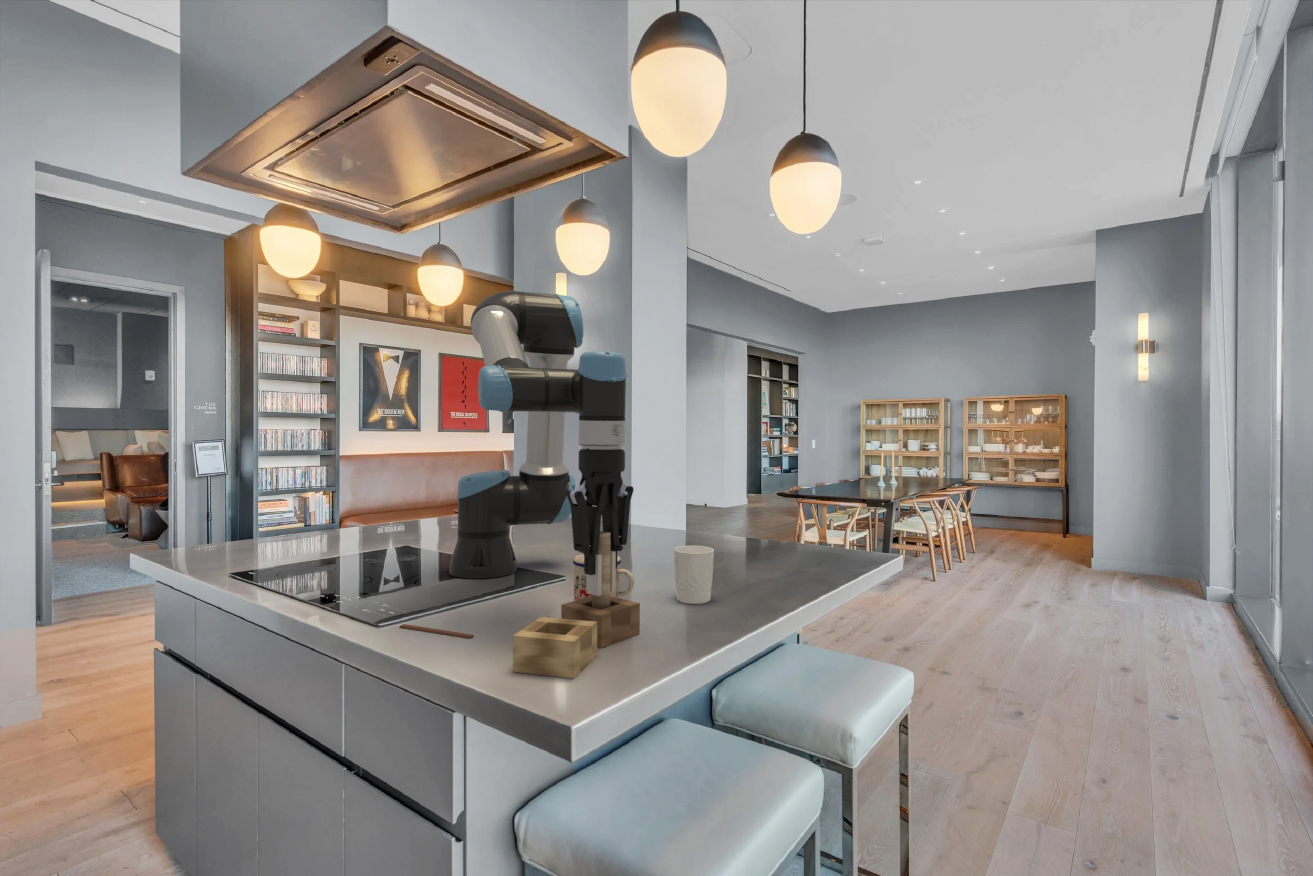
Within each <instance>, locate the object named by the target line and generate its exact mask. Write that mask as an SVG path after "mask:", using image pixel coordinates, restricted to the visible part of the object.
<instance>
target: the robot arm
mask: <svg viewBox="0 0 1313 876" xmlns="http://www.w3.org/2000/svg"><path fill="white" fill-rule="evenodd" d="M583 319H584V318H583V314H582V310H581V307H580V304H579V302H578V301H577V299H575V298H574V297H572V296H568V295H561V294H557V293H555V294H553V293H541V292H530V291H529V292H527V291H517V290H505V291H499V292H496V293H493V294H491V295H489V296H487V297H486V298H484V299H483V300H481V302H479V303H478V304H477V305H476V306H475V308H474V309H473V311H472V314H471V318H470V329H471V333H472V336H473V338H474V339H475V341H476V342H477V343H478V344H479V345H480V350H481V354H482V358H483V362H484V366H482V367H480V369H479V372H478V381H477V384H478V385H477V392H478V394H477V395H478V404H479V406H480V407H481V409H483V410H485V411H496V412H497V411H498V412H501V413H505V412H527V429H526V431H527V432H526V456H525V457H526V458H525V462H524V463H523V464H521V465H520V466H519V469H518V471H519V474H518V475H511V472H510V471H509V469H500V470H499V469H498V470H497V469H496V470H488V471H482V472H481V471H479V472H475V473H470V474H466V475H464V476H462V477H461V478H459V481H458V483H457V484H458V485H457V486H458V487H457V495H456V498H457V540H456V544H455V546H454V549H453V553H452V555H451V558H450V561H449V574H450V575H451V576H452V577H455V578H461V579H491V578H499V577H505V576H508V575H511V574H514V573H516V572H517V570H518V568H517V567H518V564H517V563H518V562H517V561H518V560H517V558H516V555H515V551H514V548H513V544H512V542H511V538H510V526H522V525H523V526H525V525H544V524H545V525H546V524H547V525H553V524H559V523H564V522H566V521H567V520H568V519H569V517H571V528H572V530H571V531H572V540H573V541H572V544H573V550H574V551H575V552H579V553H581V554H584V572H585V574H586V593H588V594H592V595H596V596H600V595H601V588H602V555H601V554H597V553H598V546H599V536H600V531H601V526H602V531H608V532H611V560H610V592H614V591H615V573H616V569H617V555H618V552H622V550H623V549H624V546H625V545H627V543H628V535H629V534H628V533H629V524H630V522H629V521H630V512H631V511H630V510H631V509H630V508H631V500H632V497H633V493H634V487H633V486H630V485H626V484H624V481H623V477H622V473H623V472H624V471H625V469H626V451H625V450H624V449H622V446H624V445H625V444H626V443H625V442H626V440H625V439H626V393H627V391H626V388H627V387H626V386H627V384H626V382H627V381H626V379H627V377H628V374H627V371H626V370H627V368H626V359H625V356H624V355H623V354H622V353H620V352H616V351H608V350H607V351H605V350H604V351H603V350H602V351H600V350H598V351H597V350H596V351H593V350H592V351H586V352H583V353H581V355H580V356H579V362H578V363H579V364H578V368H577V369H573V368H572V369H571V368H568V362H569V361H570V360H571V359H572V358H573V357H574V356H575V349H578V348H580V347H582V344H583V343H584V342H583V339H584V320H583ZM522 345H523V347H522ZM526 357H527V358H526ZM527 359H528V360H529V363H528V360H527ZM566 413H575V414H578V445H579V446H581V449H579V451H578V471H579V472H580V473H581V479H580V481H579V486H578V487H576V480H575V477H574V476H573V475H572V474H569V472H570V471H569V467H567V466H566V465H565V463H564V461H563V460H564V444H565V443H564V442H565V441H564V439H565V422H566V421H565V420H566V416H565V415H566ZM601 524H602V525H601Z"/></svg>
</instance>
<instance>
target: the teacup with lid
mask: <svg viewBox="0 0 1313 876" xmlns="http://www.w3.org/2000/svg"><path fill="white" fill-rule="evenodd" d="M621 563H622V560H621V557H620V556H619V555H618V554H617V569H616V573H615V591H614V592H610V596H612V597H616V598H620V597H623V596H627V595H628V594H630V593H631V592H632V590H633V588H634V586H635V577H634V575H633V572H631V571H629V570H627V569H625V568H621ZM572 564H573V601H577V600H580V599H584V598H587V597H591V596H592V594H588V593H586V574H585V572H584V554H583V553H581V554H578V555H576V556H574V558H573V559H572ZM620 574H623V575H625V576H627V578H628V587H627V589H626V590H625V591H620V588H621V587H620V581H621V579H620V578H621V577H620V576H621V575H620ZM620 599H621V598H620Z"/></svg>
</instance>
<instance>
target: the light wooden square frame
mask: <svg viewBox="0 0 1313 876" xmlns="http://www.w3.org/2000/svg"><path fill="white" fill-rule="evenodd" d="M597 656H598V647H597V622H595V621H584V620H573V619H562V618H560V617H550V616H549V617H548V616H540V617H538V618H537V619H535V620H534V621H532V622H530V623H529V624H528V625H526V626H525V627H524V628H522V629H520V630H519V631H517V632H516V633H514V634H513V635H512V672H513V673H522V674H528V675H529V674H530V675H539V676H547V677H554V678H555V677H556V678H566V679H574V680H575V678H576V677H578V675H579V674H581V672H582V671H583V670H584V669H585V668H586V667H587V666H588V665H589V664H590V663H591V662H592V661H593V660H594V659H595V658H596V657H597Z"/></svg>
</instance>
